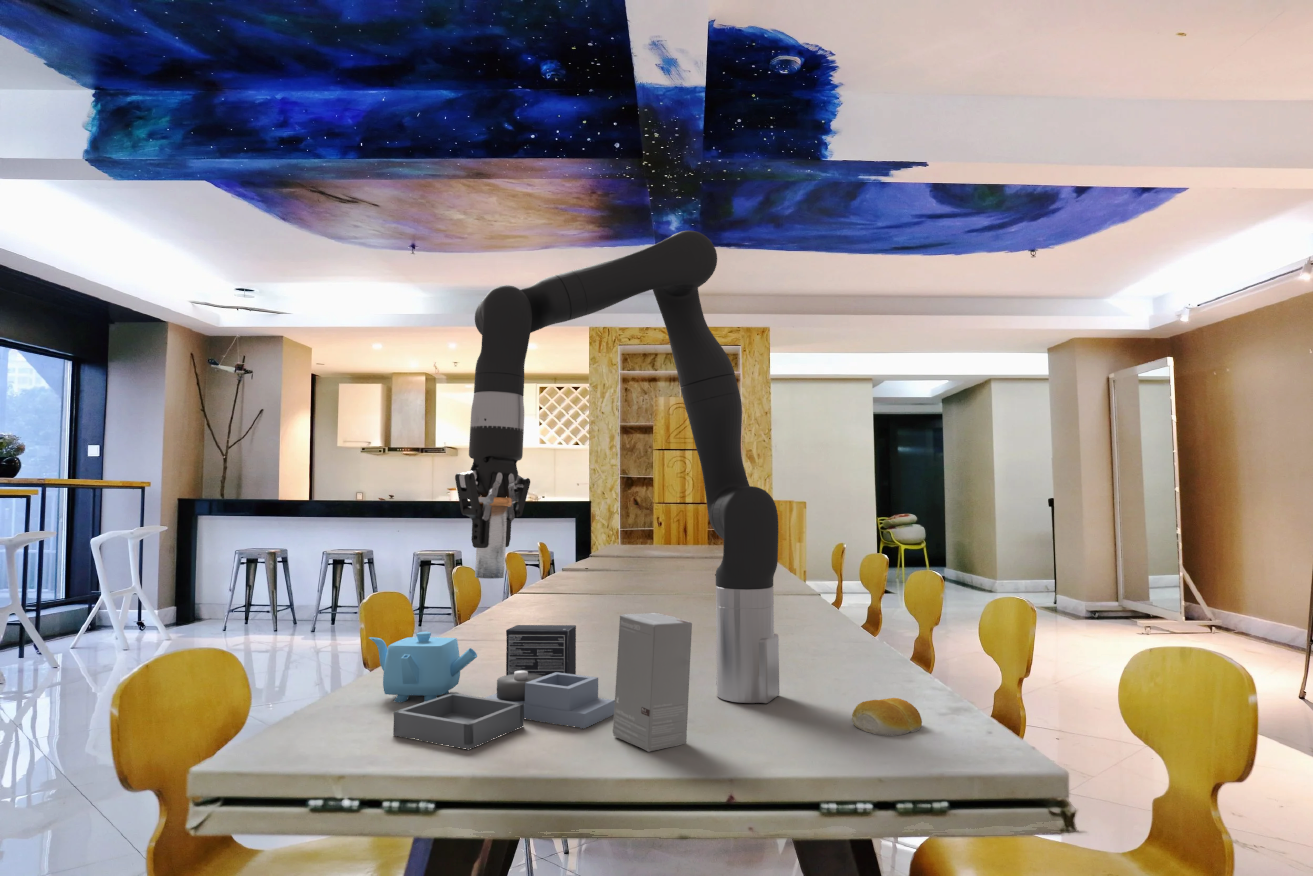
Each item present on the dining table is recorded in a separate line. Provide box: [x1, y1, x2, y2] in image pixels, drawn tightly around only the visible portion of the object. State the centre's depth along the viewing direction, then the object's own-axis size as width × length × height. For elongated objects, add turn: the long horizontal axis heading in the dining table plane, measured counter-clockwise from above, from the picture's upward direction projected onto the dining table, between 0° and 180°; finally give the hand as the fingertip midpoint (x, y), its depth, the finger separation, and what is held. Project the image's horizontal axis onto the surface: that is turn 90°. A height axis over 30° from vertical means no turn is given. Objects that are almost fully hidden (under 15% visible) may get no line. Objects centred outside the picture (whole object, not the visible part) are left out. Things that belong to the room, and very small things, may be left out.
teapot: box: [368, 631, 478, 703], centre depth 118 cm, size 18×14×10 cm
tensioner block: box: [483, 671, 615, 729], centre depth 109 cm, size 18×8×5 cm, turn 62°
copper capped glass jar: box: [474, 497, 512, 580], centre depth 105 cm, size 5×5×11 cm
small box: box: [505, 624, 577, 676], centre depth 122 cm, size 11×6×10 cm, turn 84°
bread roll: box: [851, 697, 923, 736], centre depth 102 cm, size 8×9×4 cm
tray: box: [392, 692, 525, 749], centre depth 100 cm, size 13×11×3 cm
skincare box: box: [612, 612, 693, 753], centre depth 97 cm, size 8×7×16 cm
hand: (491, 546), depth 105 cm, fingers closed on copper capped glass jar, 4 cm apart
